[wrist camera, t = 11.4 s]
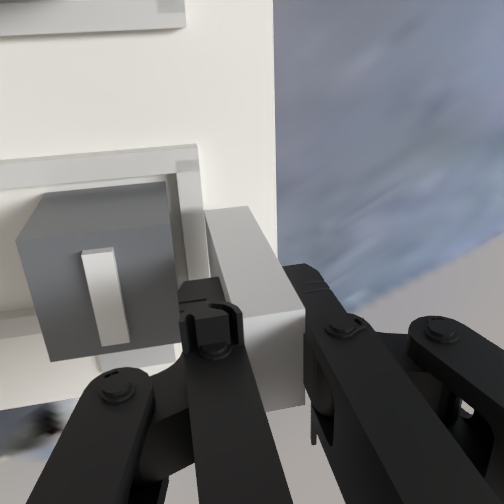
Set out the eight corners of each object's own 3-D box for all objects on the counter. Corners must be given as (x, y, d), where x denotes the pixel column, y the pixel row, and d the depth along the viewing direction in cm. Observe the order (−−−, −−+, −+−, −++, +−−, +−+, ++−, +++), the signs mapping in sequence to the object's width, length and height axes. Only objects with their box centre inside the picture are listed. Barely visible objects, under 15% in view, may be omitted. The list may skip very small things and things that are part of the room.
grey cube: (45, 192, 16) (12, 245, 12) (165, 181, 16) (170, 227, 12) (70, 294, 17) (48, 368, 14) (177, 280, 18) (185, 347, 14)
